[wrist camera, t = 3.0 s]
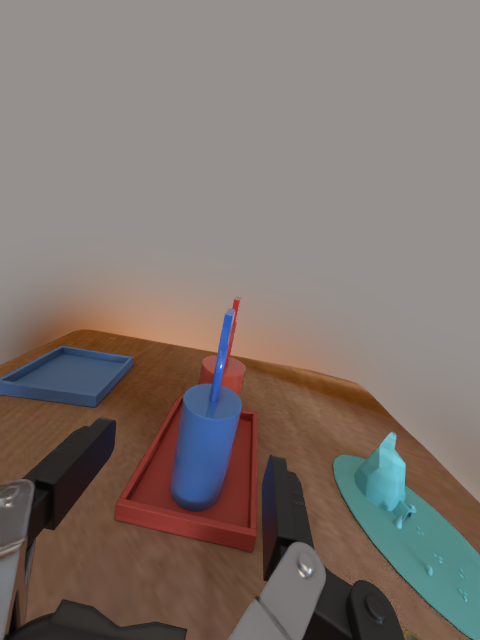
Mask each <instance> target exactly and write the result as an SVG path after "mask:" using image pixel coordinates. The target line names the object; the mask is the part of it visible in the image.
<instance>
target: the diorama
mask: <svg viewBox="0 0 480 640" xmlns="http://www.w3.org/2000/svg"><path fill="white" fill-rule="evenodd" d="M395 441H396V434H395V433H394V432H391V433H390V434H389V435H388V436H387V437H386V438H385V440H384V441H383V442H382V443H381V445H380V446H379V447H378V448H377V449H376V450H375V451H374V452H373V453H372V454H371V455H370V456H369V457H368V458H367V459H364V458H361V457H357V456H352V455H340V456H338V457H337V458H335V461H334V465H333V471H334V477H335V481H336V483H337V485H338V488H339V490H340V493H341V495H342V497H343V499H344V500H345V502H346V504H347V506H348V507H349V509H350V511H351V513H352V514H353V516H354V518H355V519H356V520H357V522H358V523H359V524H360V526H361V527H362V529H363V530H364V531H365V533H366V534H367V536H368V537H369V538H370V540H371V541H372V543H373V544H374V545H375V546H376V547H377V549H378V550H379V551H380V552H381V553H382V554H383V556H384V557H385V558H386V559H387V560H388V562H389V563H390V564H391V565H392V566H393V567H394V569H395V570H396V571H397V572H398V573H399V574H400V575H401V576H402V577H403V578H404V579H405V580H406V581H407V582H408V583H409V584H410V585H411V586H412V587H413V588H414V589H415V590H416V591H417V592H418V593H419V595H420V596H421V597H422V598H423V599H424V600H425V601H426V602H427V603H428V604H429V605H431V606H432V607H433V608H434V609H435V610H436V611H438V612H439V613H440V614H441V615H442V616H443V617H445V618H446V619H447V620H448V621H449V622H451V623H452V624H453V625H454V626H455V627H456V628H458V629H459V630H460V631H461V632H462V633H464V634H465V635H466V636H468V637H469V638H471V639H472V640H480V555H479V554H478V553H477V552H476V551H475V549H474V548H473V547H472V546H471V545H470V544H469V543H468V542H467V541H466V539H465V538H464V537H463V536H462V535H461V534H460V533H459V532H458V531H457V530H456V529H455V528H454V527H453V526H452V525H451V524H450V523H449V522H448V521H447V520H446V519H445V518H444V517H443V516H441V515H440V514H439V513H438V512H437V511H436V510H435V509H434V508H433V507H432V506H430V505H429V504H428V503H427V502H426V501H424V500H423V499H422V498H421V497H419V496H418V495H417V494H416V493H415V492H413V491H412V490H411V489H410V488H408V487H407V486H406V485H405V469H406V464H405V463H404V461H403V460H402V459H401V457H400V456H399V454H398V453H397V452H396V451H395V449H394V447H395Z"/></svg>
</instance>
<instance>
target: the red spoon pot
mask: <svg viewBox="0 0 480 640" xmlns="http://www.w3.org/2000/svg"><path fill="white" fill-rule="evenodd" d="M240 301H241V297H236V298H235V299H234V303H233V308H232V309H234V310H235V315H234V320H233V325H232V330H231V335H230V340H229V347H228V352H227V357H226V362H225V367H224V372H223V377H222V382H221V386H224V387H226V388H229V389H230V390H232V391H234V392H235V393H236V394H237V395H238V396H239V397H240V394H241V389H242V385H243V381H244V376H245V372H246V367H245V365H244V364H243V363H242V362H240V361H238V360H236V359H234V358H231V357H230V352H231V347H232V342H233V338H234V333H235V328H236V320H237V316H238V311H239V306H240ZM216 360H217V355H214V356H209V357H206V358H205V359H204V360H203V362H202V368H201V374H200V379H199V384H212V381H213V375H214V370H215V365H216Z"/></svg>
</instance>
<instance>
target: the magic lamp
mask: <svg viewBox="0 0 480 640" xmlns="http://www.w3.org/2000/svg"><path fill="white" fill-rule="evenodd" d="M404 638H405V640H421V639H420V638H419V637H418V636H417V635H415V634H414V633H412V632H411V631H409V630H405V632H404Z"/></svg>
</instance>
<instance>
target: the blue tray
mask: <svg viewBox="0 0 480 640" xmlns="http://www.w3.org/2000/svg"><path fill="white" fill-rule="evenodd" d="M132 366H133V357H130V356H123V355H117V354H111V353H105V352H98V351H92V350H86V349H80V348H74V347H67V346H60V347H58V348H56V349H54V350H52V351H50V352H48V353H47V354H45V355H43V356H41V357H39V358H37V359H35V360H33V361H31V362H29V363H28V364H26V365H24V366H22V367H20V368H18V369H16V370H14V371H12V372H10V373H9V374H7V375H5V376H3V377H1V378H0V394H1V395H8V396H15V397H22V398H30V399H37V400H44V401H51V402H59V403H66V404H73V405H80V406H88V407H96V406H97V405H98V404H99V403H100V402H101V401H102V400H103V399H104V397H105V396H106V395H107V394H108V393H109V392H110V391H111V389H112V388H113V387H114V386H115V385H116V384H117V383H118V382H119V380H120V379H121V378H122V377H123V376H124V375H125V374H126V373H127V371H128V370H129V369H130V368H131V367H132Z"/></svg>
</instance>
